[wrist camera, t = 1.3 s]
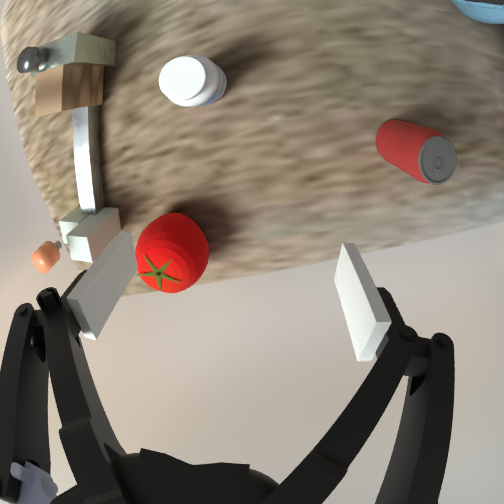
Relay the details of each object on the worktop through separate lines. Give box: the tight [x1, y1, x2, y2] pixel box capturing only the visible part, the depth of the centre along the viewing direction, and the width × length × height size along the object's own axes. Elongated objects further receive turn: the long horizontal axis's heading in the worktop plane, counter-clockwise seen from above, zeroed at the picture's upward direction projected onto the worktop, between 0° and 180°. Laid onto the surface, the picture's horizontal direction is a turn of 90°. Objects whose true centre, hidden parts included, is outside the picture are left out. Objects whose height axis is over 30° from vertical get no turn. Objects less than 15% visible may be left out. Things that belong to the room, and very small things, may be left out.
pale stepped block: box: [59, 206, 121, 262], centre depth 37 cm, size 4×9×10 cm, turn 85°
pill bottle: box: [159, 54, 227, 107], centre depth 26 cm, size 6×6×11 cm
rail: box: [17, 32, 117, 215], centre depth 28 cm, size 27×8×13 cm, turn 175°
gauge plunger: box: [32, 241, 62, 273], centre depth 31 cm, size 3×3×5 cm
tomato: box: [136, 213, 209, 293], centre depth 38 cm, size 10×11×11 cm
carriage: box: [35, 64, 104, 117], centre depth 25 cm, size 6×5×10 cm
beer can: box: [376, 120, 457, 185], centre depth 28 cm, size 7×7×12 cm
